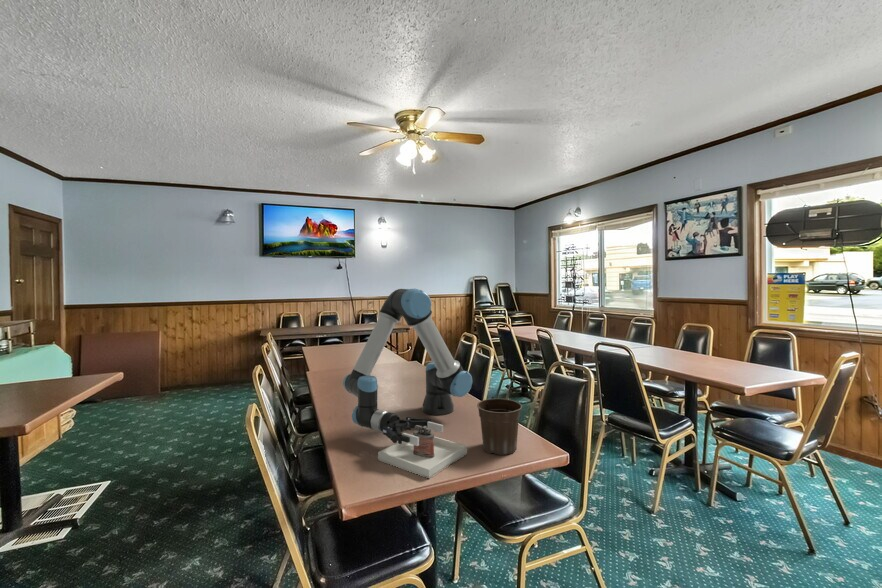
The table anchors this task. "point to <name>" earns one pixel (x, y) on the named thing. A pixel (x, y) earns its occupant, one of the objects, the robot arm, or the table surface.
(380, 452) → the tray
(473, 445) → the table surface
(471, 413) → the table surface
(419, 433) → the lighter
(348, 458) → the table surface
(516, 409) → the plant pot
